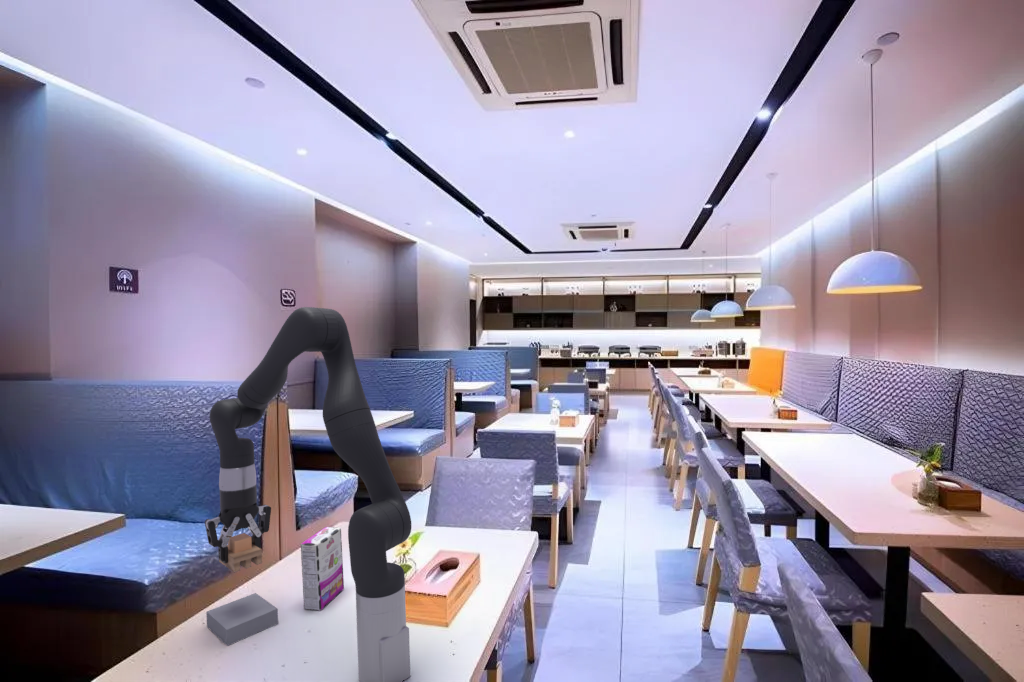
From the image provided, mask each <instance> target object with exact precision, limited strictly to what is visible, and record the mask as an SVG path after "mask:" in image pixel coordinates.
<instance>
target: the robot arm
mask: <svg viewBox="0 0 1024 682" xmlns="http://www.w3.org/2000/svg"><path fill="white" fill-rule="evenodd" d="M353 351H354V350H353V347H352V342H351V337H350V334H349V330H348V326H347V322H346V320H345V319H344V317H343V316H342V314H341V313H339V311H337V310H335V309H332V308H324V307H313V306H304V307H299V308H297V309H295V310H293V311H292V312H291V313H290V315H289V316H288V317H287V318H286V320H285V321H284V323H283V325H282V326H281V328H280V329H279V332H278V333H277V334H276V336H275V338H274V340H273V342H272V343H271V344H270V347H269V348H268V350H267V351H266V353H265V355H264V356H263V358H262V360H261V361H260V362H259V364H258V365H257V367H255V368H254V370H253V371H251V373H250V374H249V375H248V376H247V377H246V378H245V379H244V381H243V382H242V383H241V384H240V385H239V387H238V389H237V392H236V393H237V397H236V398H234V397H233V398H228V399H227V398H226V399H221V400H218V401H216V402H215V403H214V404H213V405H212V406H211V409H210V412H209V422H210V426H211V429H212V431H213V434H214V437H215V439H216V443H217V446H218V449H219V477H218V478H219V479H218V481H219V482H218V487H219V509H220V511H219V513H218V516H217V517H214V518H211V519H210V518H206V519H205V520H204V526H205V530H206V532H205V533H206V536H207V543H208V545H210V546H211V547H213V548H218V549H217V550H218V553H217V554H218V561H219V560H220V561H222V562H223V563H224V564H225V563H228V546H227V545H228V541H229V539H230V537H232V536H234V532H237V531H240V530H241V529H247V528H248V530H249V531H250V533H251V534H252V536H250V537H251V540H252V544H253V545H255V546H257V547H259V548H261V547H262V545H261V544H262V543H261V541H262V540H261V536H262V535H263V534H264V533H268V532H269V531H270V523H271V513H272V507H271V506H270V505H267V504H263V505H258V504H257V502H258V495H257V494H258V493H257V490H258V487H257V471H256V466H255V445H254V441H253V440H252V439H251V438H247V437H239V436H238V434H237V432H236V430H237V429H243V428H248V427H249V428H250V427H251V426H254V425H256V424H257V423H258V422H259V421H260V420H261V419H262V417H263V415H264V414H265V411H266V410H267V407H268V404H269V403H270V402H271V401H272V400H273V398H275V396H276V395H277V394H279V392H280V391H281V390H282V388H283V387H284V386H285V385H286V382H287V379H288V374H289V365H290V364H291V363H292V361H294V360H295V359H296V358H297V357H299V356H300V355H302V354H303V353H305V352H307V353H308V352H309V353H310V352H311V353H312V352H314V353H315V352H317V353H318V352H319V353H321V354H322V357H323V360H324V362H325V367H326V370H327V375H328V376H327V378H328V380H327V386H326V387H327V388H326V392H325V397H324V400H323V406H322V420H323V424H324V427H325V429H326V433H327V436H328V440H329V442H330V445H331V447H332V449H333V450H334V452H335V453H336V454H337V455H338V456H339V458H341V460H343V462H344V463H346V464H347V466H349V467H350V468H351V469H352V470H353V471H354V472H355V473H356V474H357V475H358V477H360V479H361V481H362V482H363V483H364V487H366V490H367V492H368V495H369V498H370V501H371V504H369V505H365V506H364V507H361V508H359V509H357V510H355V511H354V512H353V513H352V514H351V517H350V519H349V522H348V529H347V535H348V536H347V538H348V548H349V550H348V551H349V560H350V564H349V565H350V572H351V575H352V578H353V580H354V583H355V609H356V610H355V612H356V613H355V614H356V638H357V639H356V640H357V641H356V643H357V669H358V682H401V681H402V682H404V681H405V680H407V679H408V678H410V677H411V651H410V649H411V647H410V628H409V627H408V626H407V613H406V612H407V611H406V610H407V609H406V580H405V577H406V575H405V571H404V568H403V567H402V566H401V565H400V564H398V563H394V562H390V561H389V562H388V558H387V551H389V550H391V549H394V548H395V547H398V546H400V545H401V544H403V543H404V542H406V541H407V540H408V538H409V537H410V535H411V532H412V518H411V514H410V510H409V508H408V505H407V502H406V500H405V498H404V496H403V494H402V491H401V489H400V487H399V484H398V483H397V480H396V479H395V476H394V474H393V472H392V469H391V466H390V464H389V462H388V458H387V456H386V453H385V450H384V448H383V444H382V442H381V439H380V436H379V432H378V430H377V427H376V426H377V425H376V423H375V420H374V417H373V413H372V410H371V407H370V404H369V403H368V399H367V397H366V395H365V391H364V388H363V385H362V382H361V381H362V380H361V378H360V374H359V371H358V369H357V365H356V360H355V357H354V352H353ZM258 514H259V515H260V519H259V525H257V523H256V521H255V518H256V517H257V515H258ZM220 523H221V524H222V525H223V526H222V528H221V531H220V535H219V537H218V534H217V528H218V527H219V524H220ZM258 526H259V527H258ZM261 549H262V548H261ZM403 680H404V681H403Z"/></svg>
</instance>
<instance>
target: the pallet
mask: <svg viewBox="0 0 1024 682" xmlns="http://www.w3.org/2000/svg"><path fill="white" fill-rule="evenodd" d="M227 546H228V544H227ZM218 562H219V563H220V564H222V565H223V566H225V567H226V568H227V569H229V570H230V571H232V572H233V573H237V572H240V571H241V567H242V568H244V569H246V570H247V569H249V568H252V563H253V564H255V565H256V566H258V565H261V564H263V549H262V548H259V547H257V546H255V545H253V544H252V548H251V549H248V550H245V551H241V552H238V553H234V552H232V551H231V550H229V549H228V563H225V564H224V563H223V562H222V561H220V560H219V559H218Z"/></svg>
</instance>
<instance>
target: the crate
mask: <svg viewBox="0 0 1024 682" xmlns="http://www.w3.org/2000/svg"><path fill="white" fill-rule="evenodd" d="M227 545H228V549H229V550H231V551H232V552H234V553H238V552H241V551H245V550H248V549H251V548H252V540H251V536H250V535H248V534H247V533H244V532H243V533H239V534H236V535H232V537H230V539H229V541H228V544H227Z"/></svg>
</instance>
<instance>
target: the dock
mask: <svg viewBox="0 0 1024 682" xmlns="http://www.w3.org/2000/svg"><path fill="white" fill-rule="evenodd" d="M278 611H279V609H278V607H276V606H275V605H273V604H272V603H270V602H269V601H268V600H266V599H265V598H264V597H263V596H261V595H259V594H257V593H256V592H254V593H251V594H249V595H247V596H244V597H241V598H238V599H236V600H233V601H230V602H228V603H225V604H223V605H220V606H218V607H215V608H213V609H209V610H207V611H206V627H207V628H208V629H209V628H210V629H211V630H210V629H209V630H210V631H211V632H212V633H213V634H214V635H215V636H216V637H217V638H218V639H219V640H220V641H221V642H223V643H224V645H226V646H230V645H233V644H235V643H237V642H239V641H238V640H240V641H241V639H242V640H244V639H246V638H249V637H250V636H253V635H255V633H256V634H258V633H260V632H262V631H265V630H266V629H269V628H271V626H272V627H274V626H276V625H279V613H278ZM264 629H265V630H264ZM257 632H258V633H257ZM248 636H249V637H248ZM243 638H244V639H243ZM236 641H237V642H236ZM234 642H235V643H234ZM232 643H233V644H232Z"/></svg>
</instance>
